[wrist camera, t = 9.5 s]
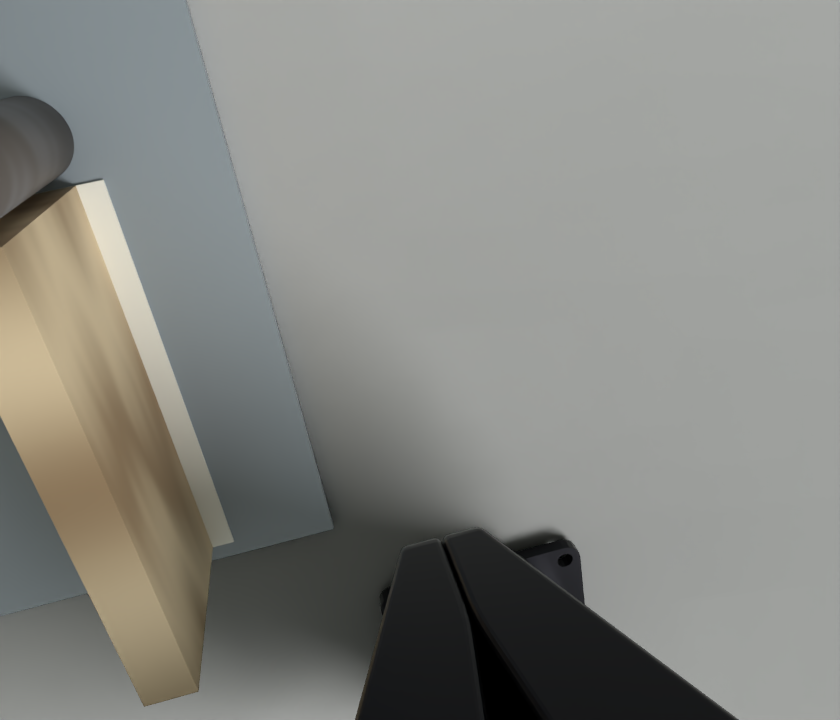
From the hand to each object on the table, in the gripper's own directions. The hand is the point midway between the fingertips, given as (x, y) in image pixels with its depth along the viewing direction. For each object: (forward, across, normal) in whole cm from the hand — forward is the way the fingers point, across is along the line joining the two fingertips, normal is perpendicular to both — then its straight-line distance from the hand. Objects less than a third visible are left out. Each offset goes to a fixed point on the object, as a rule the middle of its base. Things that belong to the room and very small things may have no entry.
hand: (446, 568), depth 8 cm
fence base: (+12, +6, +1) cm, 13 cm away
